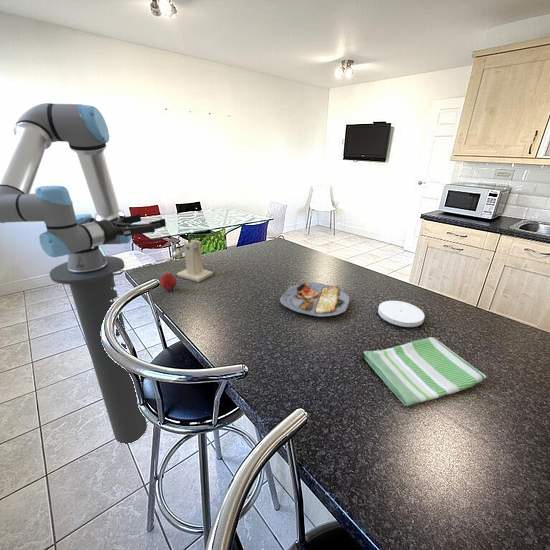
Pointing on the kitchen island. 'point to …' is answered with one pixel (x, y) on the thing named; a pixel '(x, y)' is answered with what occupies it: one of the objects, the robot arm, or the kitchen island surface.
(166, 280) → the onion
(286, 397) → the kitchen island surface
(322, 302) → the food plate
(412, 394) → the dish towel
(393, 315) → the plastic lid
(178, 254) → the lever
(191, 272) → the bracket
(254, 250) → the kitchen island surface
